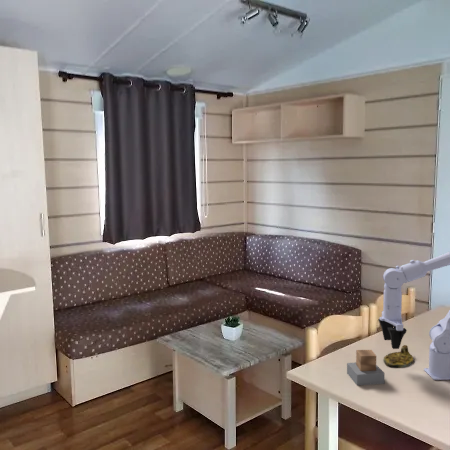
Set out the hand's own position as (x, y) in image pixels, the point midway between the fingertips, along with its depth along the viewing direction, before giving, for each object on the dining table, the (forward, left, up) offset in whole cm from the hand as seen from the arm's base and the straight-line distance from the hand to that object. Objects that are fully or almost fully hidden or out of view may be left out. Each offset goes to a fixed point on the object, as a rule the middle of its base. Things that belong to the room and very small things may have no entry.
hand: (391, 344), depth 159 cm
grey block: (+10, +5, -10) cm, 15 cm away
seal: (-6, -8, -10) cm, 14 cm away
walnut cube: (+10, +5, -6) cm, 13 cm away
